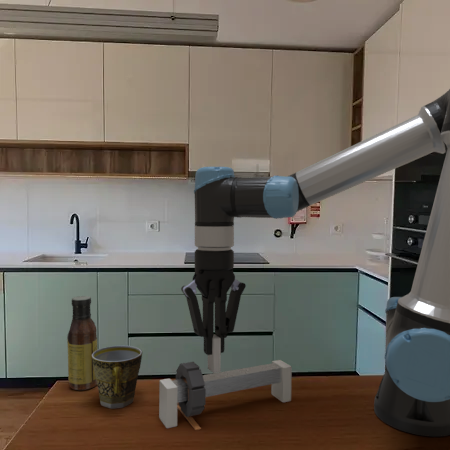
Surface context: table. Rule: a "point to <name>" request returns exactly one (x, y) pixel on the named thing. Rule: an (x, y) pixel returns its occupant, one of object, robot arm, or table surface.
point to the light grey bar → (233, 380)
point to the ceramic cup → (117, 374)
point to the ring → (192, 388)
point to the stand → (170, 418)
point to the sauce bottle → (81, 345)
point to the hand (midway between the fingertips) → (214, 369)
